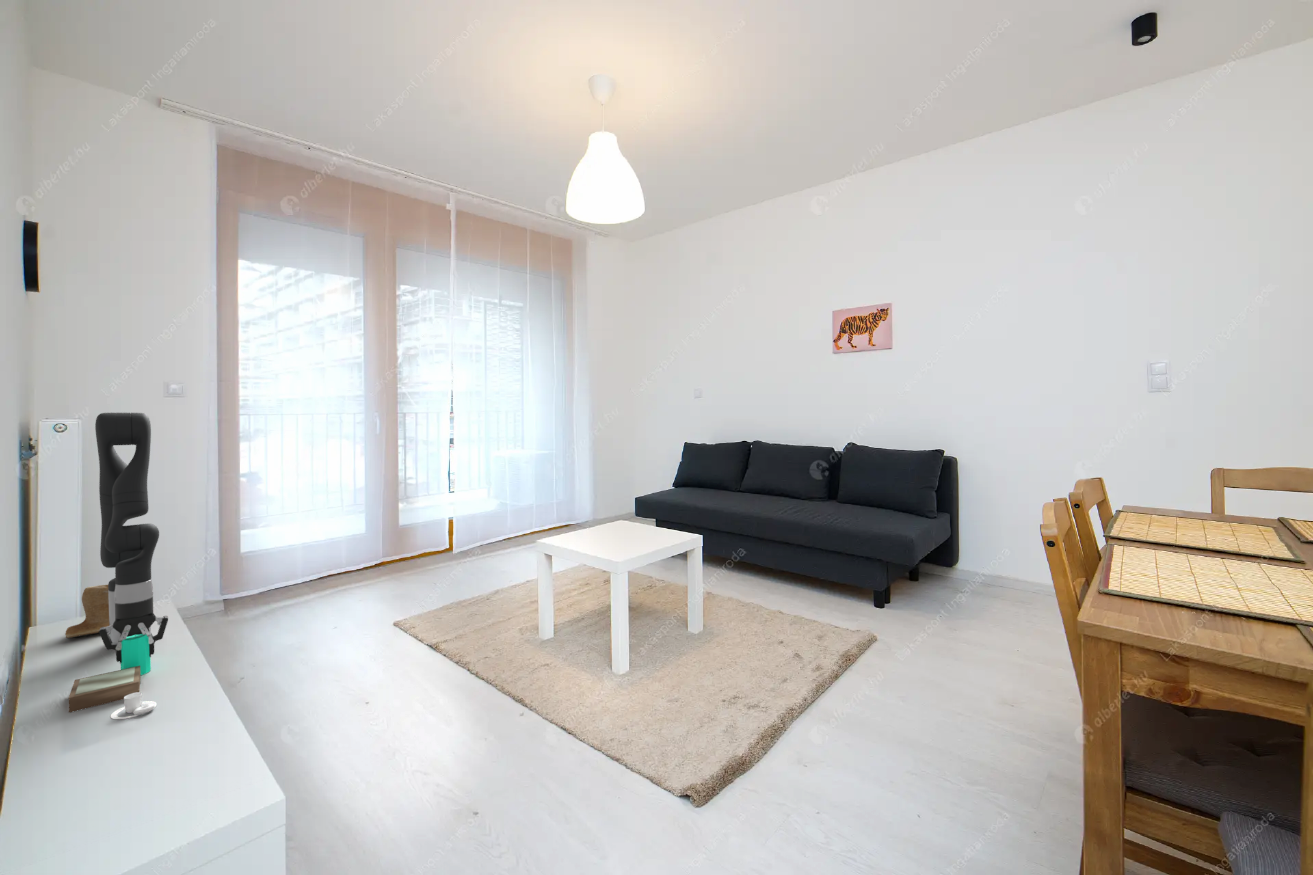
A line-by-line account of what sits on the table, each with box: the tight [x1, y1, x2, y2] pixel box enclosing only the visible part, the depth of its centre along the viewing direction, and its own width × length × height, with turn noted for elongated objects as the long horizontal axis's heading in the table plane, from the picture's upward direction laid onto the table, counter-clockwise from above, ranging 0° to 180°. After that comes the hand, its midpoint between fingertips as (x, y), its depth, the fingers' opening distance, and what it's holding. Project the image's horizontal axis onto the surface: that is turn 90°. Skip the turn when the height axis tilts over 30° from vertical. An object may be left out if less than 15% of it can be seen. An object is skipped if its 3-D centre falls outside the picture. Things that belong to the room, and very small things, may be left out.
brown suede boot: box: [64, 583, 109, 639], centre depth 176 cm, size 15×12×15 cm
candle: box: [120, 634, 152, 676], centre depth 148 cm, size 6×6×12 cm
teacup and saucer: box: [109, 691, 157, 720], centre depth 129 cm, size 9×8×4 cm
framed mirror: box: [68, 666, 142, 713], centre depth 136 cm, size 12×12×4 cm
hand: (135, 658), depth 148 cm, fingers closed on candle, 4 cm apart
